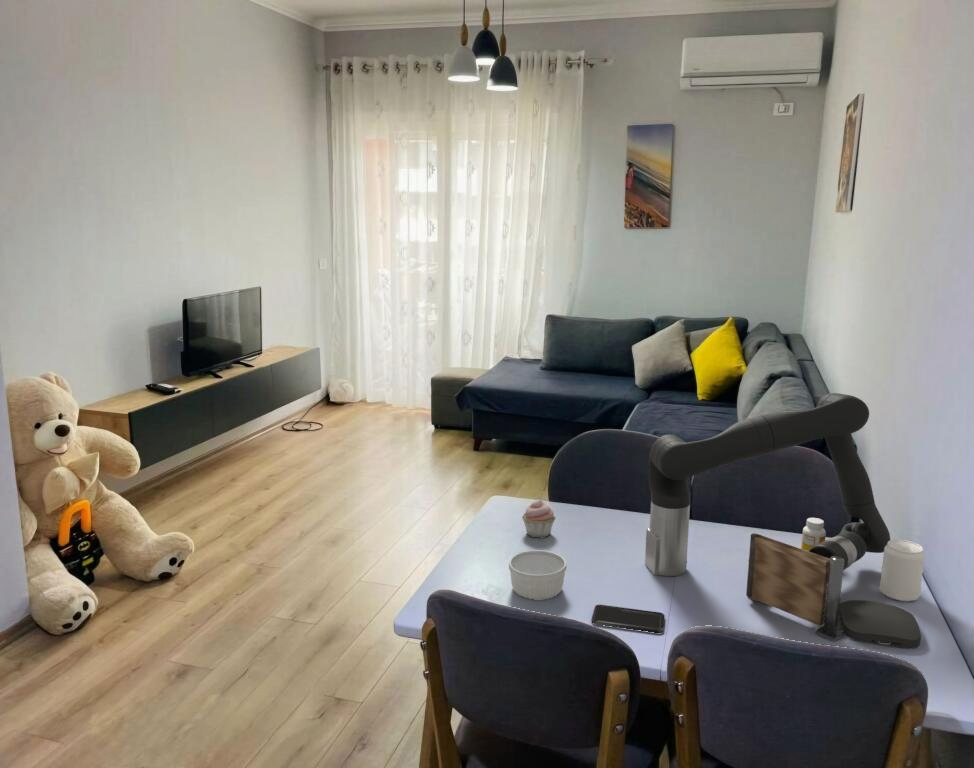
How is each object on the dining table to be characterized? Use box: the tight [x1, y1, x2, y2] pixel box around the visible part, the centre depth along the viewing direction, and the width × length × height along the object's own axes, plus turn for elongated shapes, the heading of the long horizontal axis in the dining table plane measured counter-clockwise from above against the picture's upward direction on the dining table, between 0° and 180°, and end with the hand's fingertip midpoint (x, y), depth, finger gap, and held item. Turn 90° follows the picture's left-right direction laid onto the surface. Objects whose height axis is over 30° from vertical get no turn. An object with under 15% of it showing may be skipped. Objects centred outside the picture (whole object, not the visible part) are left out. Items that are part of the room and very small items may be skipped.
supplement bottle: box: [800, 517, 827, 552], centre depth 197 cm, size 5×5×10 cm
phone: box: [590, 604, 666, 634], centre depth 168 cm, size 8×1×15 cm
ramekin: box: [508, 549, 567, 601], centre depth 180 cm, size 13×13×7 cm
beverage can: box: [879, 539, 926, 602], centre depth 177 cm, size 8×8×12 cm
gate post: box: [747, 556, 845, 643], centre depth 167 cm, size 22×6×17 cm, turn 40°
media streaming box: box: [838, 599, 922, 650], centre depth 164 cm, size 15×15×3 cm
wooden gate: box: [745, 532, 830, 627], centre depth 168 cm, size 18×2×14 cm, turn 40°
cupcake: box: [521, 498, 557, 538], centre depth 211 cm, size 9×9×10 cm
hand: (793, 578), depth 169 cm, fingers closed
